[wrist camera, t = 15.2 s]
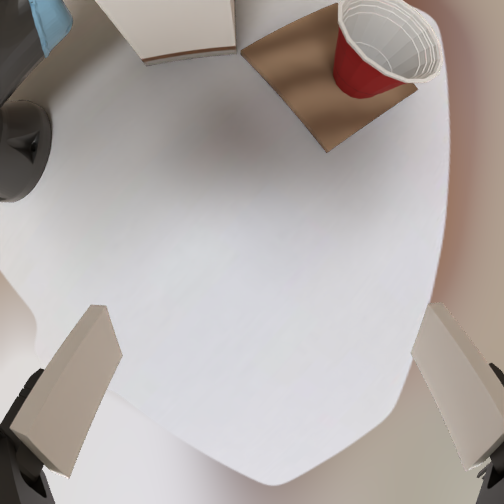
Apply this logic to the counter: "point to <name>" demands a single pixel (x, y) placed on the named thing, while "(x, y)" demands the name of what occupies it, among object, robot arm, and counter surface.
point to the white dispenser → (174, 27)
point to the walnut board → (316, 78)
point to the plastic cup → (383, 47)
